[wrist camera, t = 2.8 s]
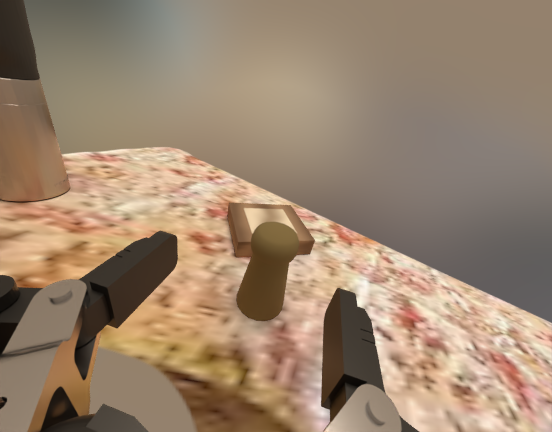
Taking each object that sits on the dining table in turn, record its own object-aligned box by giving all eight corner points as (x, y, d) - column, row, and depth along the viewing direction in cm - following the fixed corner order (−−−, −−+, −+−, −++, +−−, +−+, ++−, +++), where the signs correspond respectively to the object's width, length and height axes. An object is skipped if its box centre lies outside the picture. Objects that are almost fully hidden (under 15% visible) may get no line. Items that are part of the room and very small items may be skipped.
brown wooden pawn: (268, 276, 32) (286, 211, 26) (292, 310, 28) (318, 241, 22) (229, 288, 28) (239, 217, 23) (249, 328, 24) (268, 254, 19)
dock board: (235, 257, 34) (238, 241, 32) (227, 215, 43) (229, 202, 42) (309, 254, 38) (315, 240, 37) (287, 217, 48) (290, 205, 46)
